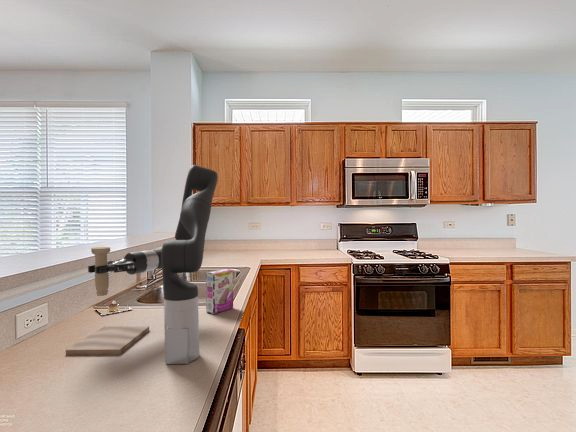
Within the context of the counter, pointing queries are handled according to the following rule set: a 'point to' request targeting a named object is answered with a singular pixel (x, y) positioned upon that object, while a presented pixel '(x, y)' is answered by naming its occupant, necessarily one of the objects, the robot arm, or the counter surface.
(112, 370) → the counter surface
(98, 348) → the walnut board
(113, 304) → the dessert
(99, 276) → the handle
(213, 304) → the candy bar box
